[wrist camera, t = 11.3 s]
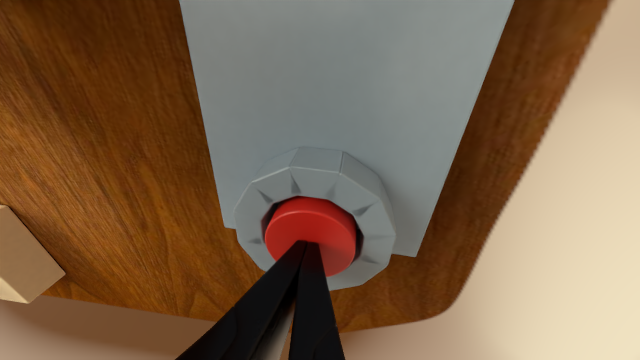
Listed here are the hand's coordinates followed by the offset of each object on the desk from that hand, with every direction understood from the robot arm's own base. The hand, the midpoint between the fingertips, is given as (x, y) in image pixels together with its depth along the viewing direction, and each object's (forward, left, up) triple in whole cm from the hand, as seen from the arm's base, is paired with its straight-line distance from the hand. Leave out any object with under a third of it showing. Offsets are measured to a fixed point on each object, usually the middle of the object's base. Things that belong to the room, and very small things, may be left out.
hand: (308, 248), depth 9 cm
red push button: (0, 0, -2) cm, 2 cm away
